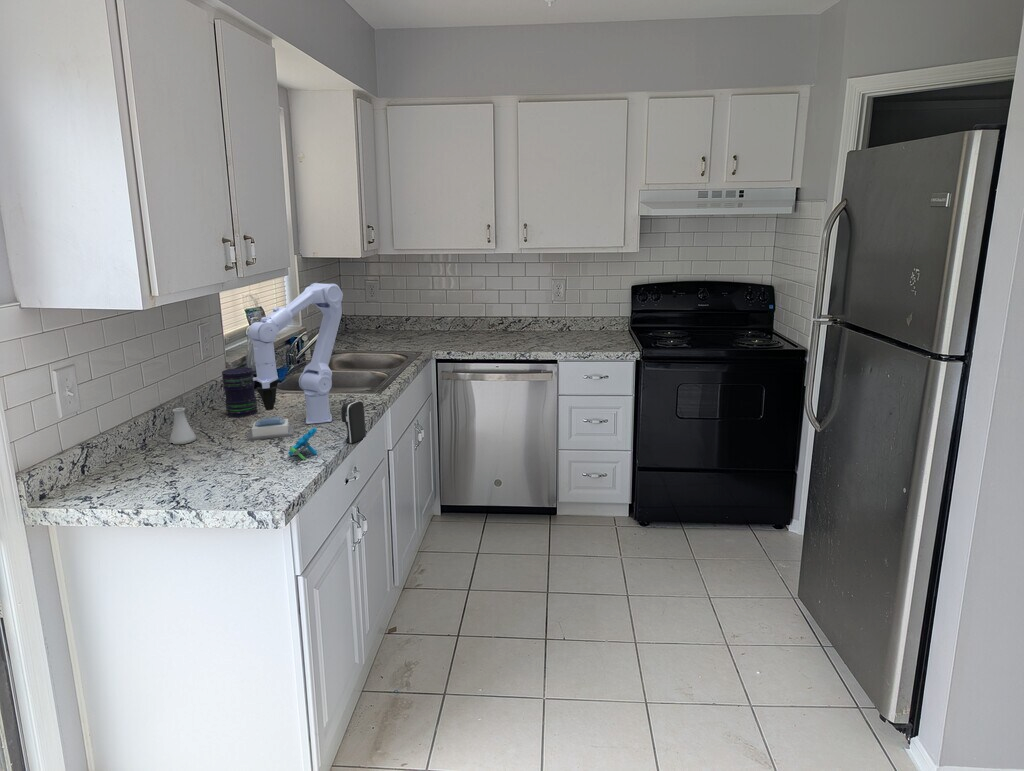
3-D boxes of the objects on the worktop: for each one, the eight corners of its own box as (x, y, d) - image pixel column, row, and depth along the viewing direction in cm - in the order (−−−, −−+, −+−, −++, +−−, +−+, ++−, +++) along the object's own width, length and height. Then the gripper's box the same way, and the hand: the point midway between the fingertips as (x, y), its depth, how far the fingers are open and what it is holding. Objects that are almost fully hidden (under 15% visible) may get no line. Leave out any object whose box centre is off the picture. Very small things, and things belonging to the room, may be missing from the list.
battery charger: (356, 436, 207) (352, 398, 205) (366, 437, 206) (363, 399, 203) (341, 443, 201) (338, 404, 199) (352, 444, 200) (349, 405, 197)
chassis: (250, 431, 216) (249, 421, 215) (294, 426, 219) (293, 417, 218) (247, 440, 206) (246, 430, 206) (293, 435, 210) (292, 425, 209)
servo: (257, 431, 213) (255, 418, 212) (285, 428, 215) (284, 416, 214) (256, 434, 210) (254, 421, 209) (285, 431, 212) (283, 419, 211)
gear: (301, 441, 198) (318, 420, 193) (316, 456, 198) (334, 435, 194) (278, 459, 188) (296, 437, 184) (294, 474, 189) (312, 452, 184)
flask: (202, 438, 210) (197, 406, 208) (184, 446, 203) (180, 412, 201) (181, 437, 212) (177, 405, 210) (164, 444, 205) (159, 411, 203)
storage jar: (220, 417, 233) (214, 373, 230) (238, 409, 242) (233, 367, 239) (246, 418, 231) (241, 374, 227) (264, 410, 240) (259, 367, 236)
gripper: (253, 359, 214) (258, 402, 217) (248, 368, 200) (254, 414, 203) (277, 357, 215) (282, 400, 218) (274, 366, 202) (279, 411, 205)
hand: (270, 406), depth 211 cm, fingers open, 7 cm apart
